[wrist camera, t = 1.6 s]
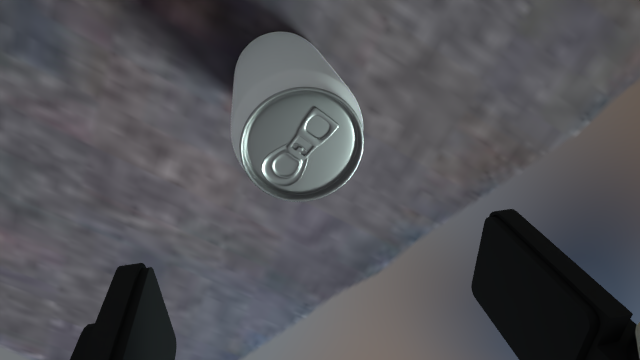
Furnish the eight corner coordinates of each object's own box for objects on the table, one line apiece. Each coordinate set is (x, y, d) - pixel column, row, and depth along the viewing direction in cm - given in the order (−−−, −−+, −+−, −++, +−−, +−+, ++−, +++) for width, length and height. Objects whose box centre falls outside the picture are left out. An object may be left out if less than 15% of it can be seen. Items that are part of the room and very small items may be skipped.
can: (215, 86, 27) (199, 165, 17) (271, 8, 25) (290, 43, 15) (288, 137, 30) (313, 230, 20) (343, 69, 28) (401, 134, 18)
